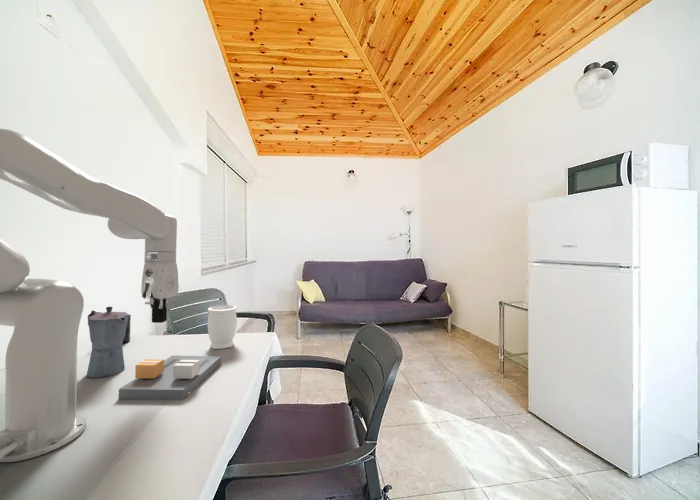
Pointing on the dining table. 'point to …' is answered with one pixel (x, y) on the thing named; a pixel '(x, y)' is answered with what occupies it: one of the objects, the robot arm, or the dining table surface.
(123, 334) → the moka pot
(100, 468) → the dining table surface
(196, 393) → the dining table surface
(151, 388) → the console
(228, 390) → the dining table surface
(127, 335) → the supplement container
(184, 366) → the block
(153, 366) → the orange fader
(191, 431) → the dining table surface
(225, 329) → the jar
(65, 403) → the robot arm
